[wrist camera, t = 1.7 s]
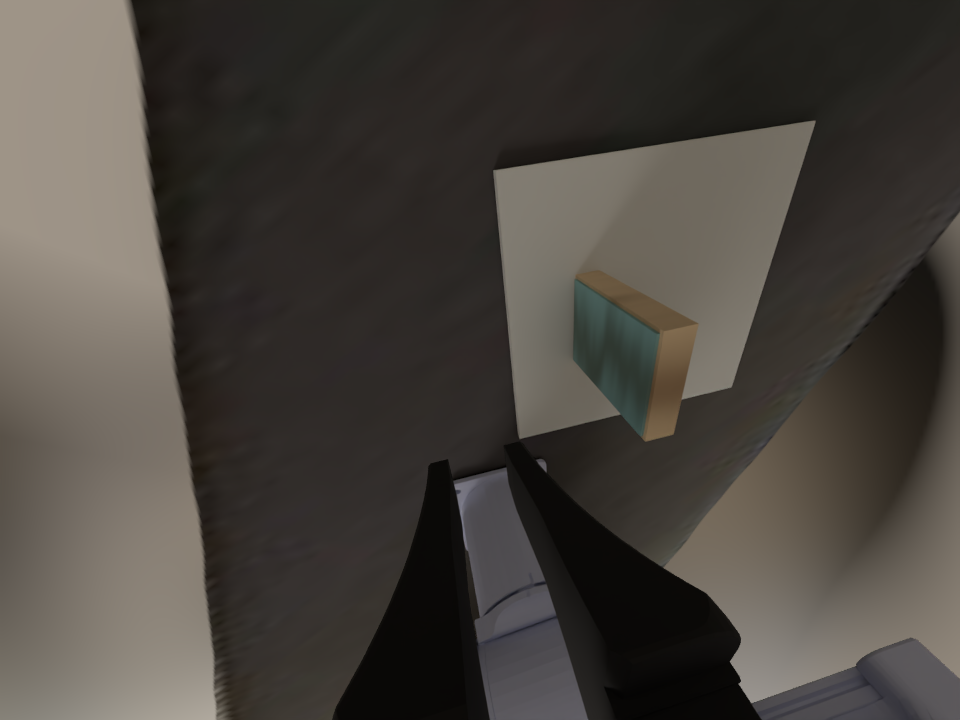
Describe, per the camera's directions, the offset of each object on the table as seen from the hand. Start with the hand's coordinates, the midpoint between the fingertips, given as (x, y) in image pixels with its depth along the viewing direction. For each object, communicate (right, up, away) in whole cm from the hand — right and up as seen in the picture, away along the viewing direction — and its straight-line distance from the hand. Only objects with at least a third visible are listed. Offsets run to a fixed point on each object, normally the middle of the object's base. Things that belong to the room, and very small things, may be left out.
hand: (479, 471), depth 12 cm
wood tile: (+7, +7, +9) cm, 13 cm away
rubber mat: (+11, +8, +10) cm, 17 cm away
